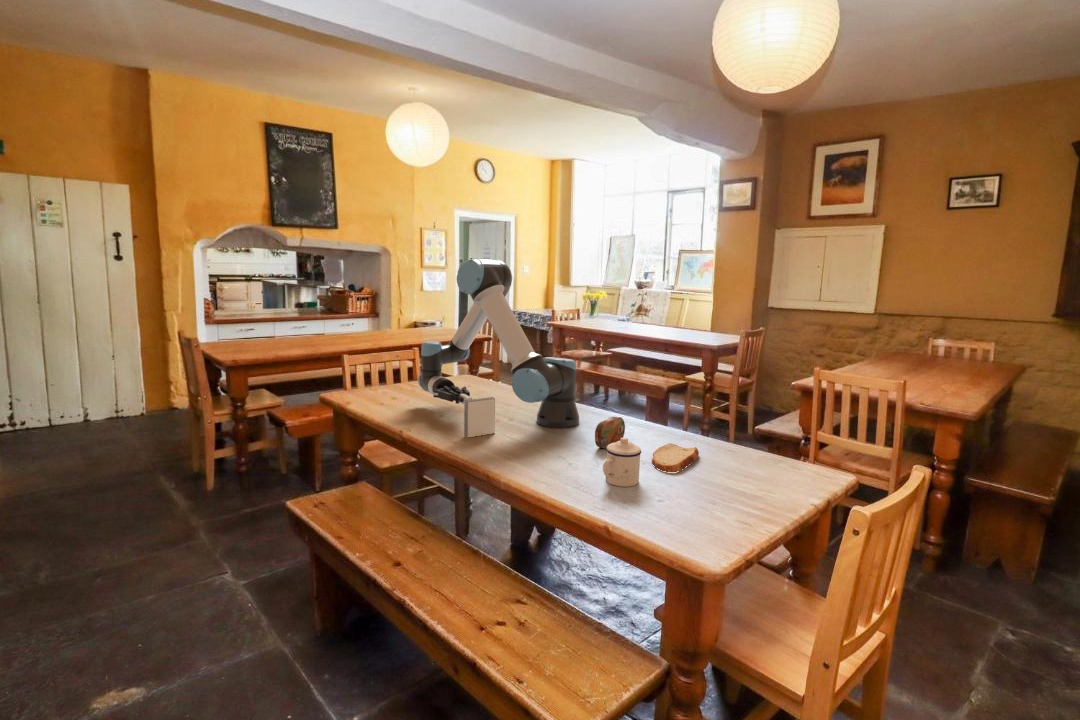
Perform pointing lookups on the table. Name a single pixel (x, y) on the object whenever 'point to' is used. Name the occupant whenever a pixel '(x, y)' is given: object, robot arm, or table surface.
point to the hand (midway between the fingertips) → (469, 401)
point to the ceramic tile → (479, 417)
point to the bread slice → (673, 457)
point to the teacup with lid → (622, 463)
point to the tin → (609, 431)
